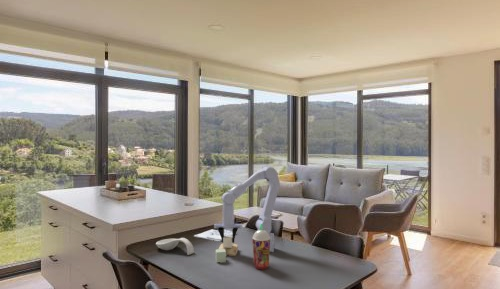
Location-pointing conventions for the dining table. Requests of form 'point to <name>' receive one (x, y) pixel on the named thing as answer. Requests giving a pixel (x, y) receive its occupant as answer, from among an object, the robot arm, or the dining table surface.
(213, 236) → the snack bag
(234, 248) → the oak base
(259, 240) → the smoothie
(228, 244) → the cream block
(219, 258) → the sage block
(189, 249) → the spoon rest
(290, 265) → the dining table surface
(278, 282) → the dining table surface
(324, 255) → the dining table surface
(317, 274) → the dining table surface
